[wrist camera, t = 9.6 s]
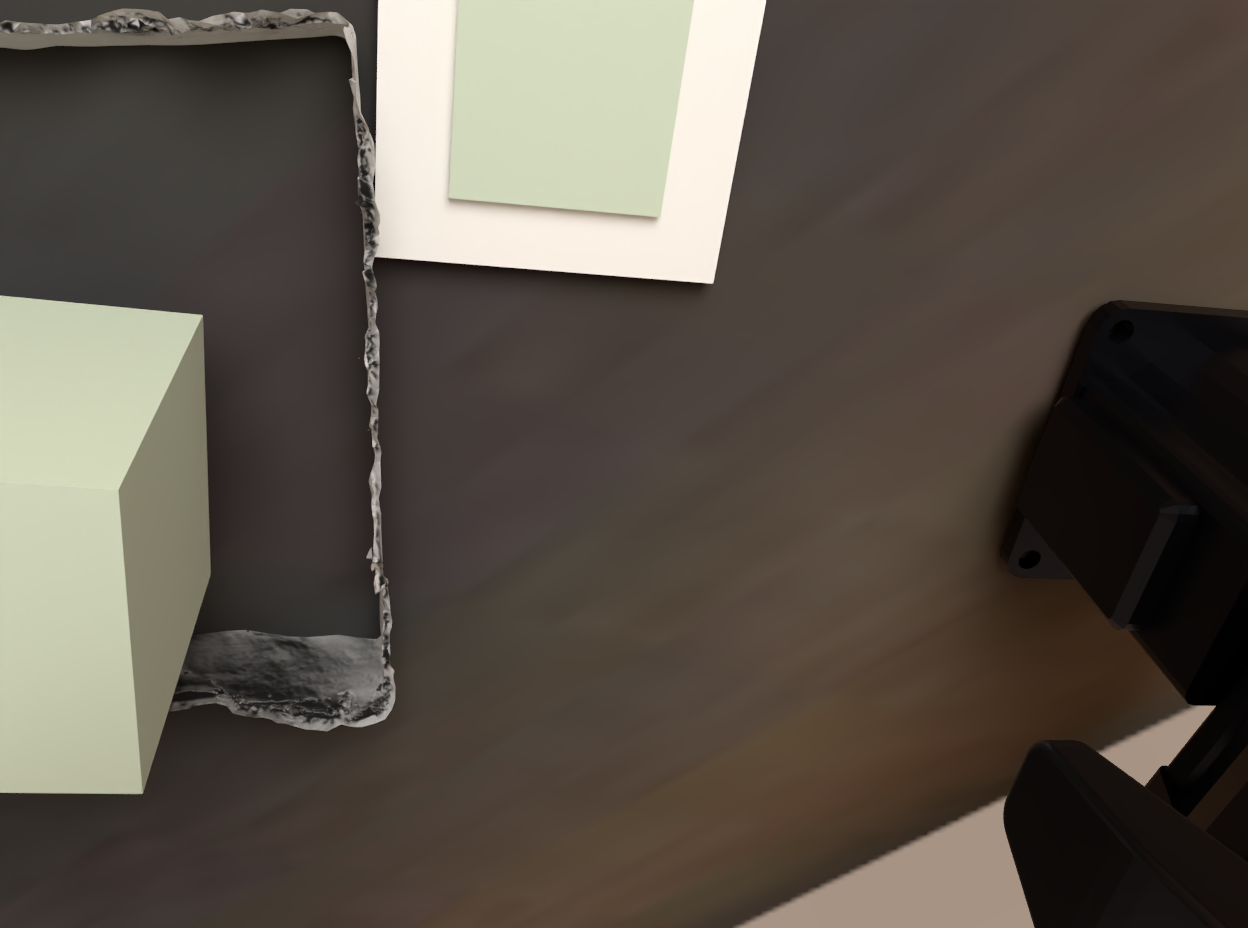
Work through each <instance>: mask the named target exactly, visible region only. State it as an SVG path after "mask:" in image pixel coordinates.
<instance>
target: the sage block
mask: <svg viewBox="0 0 1248 928" xmlns="http://www.w3.org/2000/svg"><path fill="white" fill-rule="evenodd" d="M210 575H211V566H210V533H209V500H208V466H207V433H206V400H205V367H204V334H203V315H196V314H186V313H175V312H165V311H155V310H144V309H134V308H123V307H113V306H103V305H92V304H82V303H71V302H61V301H51V300H40V299H30V298H20V297H9V296H0V793H86V794H143V791H144V788H145V785H146V782H147V778H148V775H149V772H150V769H151V765H152V762H153V759H154V756H155V753H156V749H157V746H158V743H159V740H160V736H161V733H162V730H163V727H164V724H165V720H166V717H167V714H168V711H169V707H170V704H171V701H172V698H173V695H174V691H175V688H176V685H177V682H178V678H179V675H180V672H181V669H182V665H183V662H184V659H185V656H186V653H187V649H188V646H189V643H190V640H191V636H192V633H193V630H194V627H195V624H196V620H197V617H198V614H199V611H200V607H201V604H202V601H203V598H204V595H205V591H206V588H207V585H208V582H209V578H210Z"/></svg>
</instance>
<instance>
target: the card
mask: <svg viewBox="0 0 1248 928" xmlns="http://www.w3.org/2000/svg"><path fill="white" fill-rule="evenodd" d="M765 5H766V0H378V46H377V107H376V168H375V203H376V205H377V208H378V211H379V214H380V224H379V227H378V229H379V233H380V242H379V247H378V249H377V252H376V254H375V257H383V258H396V259H409V260H421V261H434V262H446V263H459V264H471V265H484V266H497V267H509V268H522V269H534V270H547V271H559V272H572V273H585V274H597V275H610V276H622V277H635V278H647V279H660V280H673V281H685V282H698V283H710V284H713V282H714V276H715V271H716V266H717V260H718V255H719V250H720V244H721V239H722V234H723V228H724V223H725V218H726V212H727V207H728V202H729V196H730V191H731V186H732V180H733V175H734V170H735V164H736V159H737V154H738V148H739V143H740V138H741V132H742V127H743V122H744V116H745V111H746V106H747V100H748V95H749V90H750V84H751V79H752V74H753V68H754V63H755V58H756V52H757V47H758V42H759V36H760V31H761V26H762V21H763V15H764V10H765Z"/></svg>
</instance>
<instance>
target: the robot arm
mask: <svg viewBox="0 0 1248 928" xmlns="http://www.w3.org/2000/svg"><path fill="white" fill-rule="evenodd" d="M1119 321H1123V325H1122V326H1121V328H1120V329H1119V331H1117V332H1116V333H1114V334H1113V335H1109V332H1110V330H1111V328H1112V327H1113V325H1115V324H1116V323H1118V322H1119ZM1027 551H1031V552H1030V553H1029V554H1028V555H1027V556H1025V557H1023V558H1020V557H1021V556H1022V554H1024V553H1026V552H1027ZM1000 557H1001V559H1002V562H1003V563H1004V565H1005V566H1006V567H1007V569H1008V570H1009V571H1010V573H1012V574H1013V575H1014V576H1017V577H1021V578H1048V579H1075V580H1076V581H1077V583H1078V584H1079V585H1080V586H1081V588H1082V589H1083V590H1084V591H1085V593H1086V594H1087V595H1088V596H1089V598H1090V599H1091V600H1092V601H1093V603H1094V604H1095V605H1096V606H1097V608H1098V609H1099V610H1100V611H1101V613H1102V614H1103V615H1104V616H1105V617H1106V619H1107V620H1108V621H1109V622H1110V624H1111V625H1112V626H1113V627H1114V628H1116V629H1117V630H1128V631H1129V632H1130V633H1131V634H1132V636H1133V637H1134V638H1135V639H1136V641H1137V642H1138V643H1139V644H1140V646H1141V647H1142V648H1143V649H1144V650H1145V652H1146V653H1147V654H1148V655H1149V657H1150V658H1151V659H1152V660H1153V661H1154V663H1155V664H1156V665H1157V666H1158V668H1159V669H1160V670H1161V671H1162V672H1163V674H1164V675H1165V676H1166V677H1167V679H1168V680H1169V681H1170V682H1171V683H1172V685H1173V686H1174V687H1175V688H1176V690H1177V691H1178V692H1179V693H1180V694H1181V696H1182V697H1183V698H1184V699H1185V701H1186V702H1187V703H1188V704H1191V705H1208V706H1210V705H1211V706H1216V707H1215V708H1214V710H1213V711H1212V712H1211V713H1210V715H1209V716H1208V717H1207V718H1206V720H1205V721H1204V722H1203V723H1202V724H1201V726H1200V727H1199V728H1198V729H1197V731H1196V732H1195V733H1194V734H1193V736H1192V737H1191V738H1190V739H1189V741H1188V742H1187V743H1186V744H1185V746H1184V747H1183V748H1182V749H1181V751H1180V752H1179V753H1178V754H1177V756H1176V757H1175V758H1174V759H1173V761H1172V762H1171V763H1170V764H1169V766H1161V767H1160V768H1159V769H1158V770H1157V772H1156V773H1155V774H1154V775H1153V777H1152V778H1151V779H1150V780H1149V782H1148V783H1147V784H1146V785H1145V787H1144V786H1143V785H1141V784H1140V783H1139V782H1137V781H1136V780H1135V779H1133V778H1132V777H1130V776H1129V775H1128V774H1126V773H1125V772H1124V771H1122V770H1121V769H1119V768H1118V767H1117V766H1115V765H1114V764H1113V763H1111V762H1110V761H1108V760H1107V759H1106V758H1104V757H1103V756H1102V755H1100V754H1099V753H1098V752H1096V751H1095V750H1093V749H1092V748H1091V747H1089V746H1088V745H1086V744H1084V743H1082V742H1079V741H1074V740H1043V741H1039V742H1036V743H1035V744H1034V745H1033V746H1032V747H1030V749H1029V751H1028V752H1027V754H1026V757H1025V759H1024V761H1023V763H1022V765H1021V768H1020V770H1019V772H1018V774H1017V776H1016V779H1015V781H1014V783H1013V785H1012V787H1011V790H1010V792H1009V794H1008V796H1007V799H1006V801H1005V806H1004V814H1003V815H1004V818H1003V819H1004V827H1005V832H1006V835H1007V839H1008V842H1009V845H1010V848H1011V852H1012V855H1013V858H1014V862H1015V865H1016V868H1017V871H1018V875H1019V878H1020V881H1021V884H1022V888H1023V891H1024V894H1025V898H1026V901H1027V904H1028V908H1029V911H1030V914H1031V918H1032V921H1033V924H1034V927H1035V928H1248V311H1244V310H1232V309H1220V308H1208V307H1196V306H1184V305H1172V304H1159V303H1147V302H1135V301H1123V300H1118V301H1110V302H1108V303H1106V304H1104V305H1102V306H1101V307H1099V308H1098V309H1097V310H1096V311H1095V312H1094V313H1093V315H1092V316H1091V318H1090V320H1089V321H1088V324H1087V326H1086V329H1085V331H1084V334H1083V337H1082V339H1081V342H1080V344H1079V347H1078V350H1077V352H1076V355H1075V357H1074V360H1073V363H1072V365H1071V368H1070V370H1069V373H1068V376H1067V378H1066V381H1065V383H1064V386H1063V389H1062V391H1061V394H1060V396H1059V399H1058V402H1057V403H1056V405H1055V406H1054V407H1053V409H1052V412H1051V414H1050V417H1049V419H1048V422H1047V425H1046V427H1045V430H1044V432H1043V435H1042V438H1041V440H1040V443H1039V446H1038V448H1037V451H1036V453H1035V456H1034V459H1033V461H1032V464H1031V466H1030V469H1029V472H1028V474H1027V477H1026V479H1025V482H1024V485H1023V487H1022V490H1021V492H1020V495H1019V498H1018V500H1017V508H1016V511H1015V514H1014V516H1013V519H1012V521H1011V524H1010V527H1009V529H1008V532H1007V534H1006V537H1005V540H1004V542H1003V545H1002V547H1001V552H1000Z"/></svg>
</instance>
